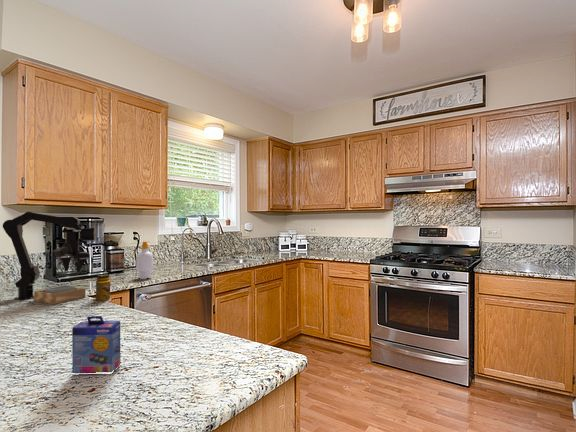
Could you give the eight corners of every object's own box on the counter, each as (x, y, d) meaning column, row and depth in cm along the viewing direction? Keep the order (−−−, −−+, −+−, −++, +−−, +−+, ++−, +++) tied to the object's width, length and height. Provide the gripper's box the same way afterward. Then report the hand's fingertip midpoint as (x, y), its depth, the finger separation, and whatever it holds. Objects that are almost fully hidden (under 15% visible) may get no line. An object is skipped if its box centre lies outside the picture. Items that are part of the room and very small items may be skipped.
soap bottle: (156, 278, 224) (156, 241, 224) (142, 280, 215) (142, 242, 215) (146, 276, 229) (146, 241, 229) (132, 278, 220) (133, 241, 221)
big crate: (34, 301, 160) (34, 291, 160) (65, 294, 174) (65, 285, 174) (54, 304, 154) (54, 294, 154) (85, 297, 168) (85, 288, 168)
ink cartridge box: (70, 377, 83) (70, 318, 83) (82, 367, 89) (82, 311, 89) (112, 375, 84) (112, 317, 84) (121, 365, 90) (121, 311, 90)
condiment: (111, 300, 161) (111, 275, 162) (91, 303, 157) (91, 277, 157) (110, 297, 168) (110, 273, 168) (90, 300, 163) (90, 275, 163)
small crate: (54, 300, 158) (54, 289, 158) (45, 299, 161) (45, 288, 161) (74, 295, 168) (74, 285, 168) (66, 294, 170) (66, 284, 170)
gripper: (44, 241, 170) (44, 272, 170) (68, 242, 163) (68, 275, 163) (66, 240, 180) (66, 269, 180) (90, 241, 173) (90, 271, 173)
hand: (72, 271), depth 174 cm, fingers open, 9 cm apart
